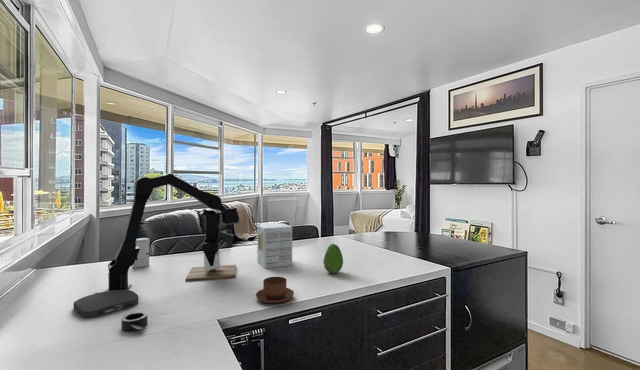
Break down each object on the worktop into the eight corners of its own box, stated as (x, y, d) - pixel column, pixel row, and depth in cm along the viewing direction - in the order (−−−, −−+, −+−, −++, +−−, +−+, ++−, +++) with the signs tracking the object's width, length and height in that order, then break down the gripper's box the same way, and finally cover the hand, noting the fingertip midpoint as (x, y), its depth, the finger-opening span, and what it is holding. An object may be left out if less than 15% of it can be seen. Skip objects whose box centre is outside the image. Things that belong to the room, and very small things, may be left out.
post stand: (235, 277, 122) (235, 265, 122) (185, 281, 118) (185, 268, 118) (235, 267, 138) (235, 255, 137) (192, 269, 133) (192, 258, 133)
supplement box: (256, 261, 147) (256, 224, 147) (283, 258, 152) (283, 222, 152) (264, 268, 135) (263, 228, 135) (293, 265, 140) (292, 226, 140)
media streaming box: (124, 294, 105) (124, 285, 105) (142, 305, 96) (142, 295, 96) (70, 308, 94) (70, 298, 94) (84, 322, 84) (84, 311, 84)
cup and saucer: (287, 308, 93) (287, 287, 93) (249, 305, 96) (249, 284, 95) (298, 294, 105) (298, 275, 105) (264, 291, 107) (264, 273, 107)
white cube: (219, 269, 125) (219, 254, 125) (204, 270, 124) (204, 254, 124) (220, 265, 131) (220, 251, 131) (205, 266, 130) (205, 251, 130)
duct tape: (156, 317, 87) (156, 307, 87) (144, 335, 77) (144, 323, 77) (126, 320, 85) (125, 309, 85) (109, 338, 75) (109, 326, 75)
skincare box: (134, 268, 136) (134, 240, 135) (131, 266, 139) (131, 239, 139) (150, 265, 140) (149, 238, 140) (147, 263, 143) (147, 237, 143)
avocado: (335, 277, 123) (335, 246, 123) (320, 273, 128) (319, 244, 128) (346, 272, 129) (346, 243, 129) (331, 269, 134) (331, 241, 134)
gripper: (232, 228, 120) (232, 268, 120) (233, 222, 138) (233, 257, 139) (201, 229, 118) (201, 270, 118) (206, 223, 136) (207, 258, 136)
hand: (212, 263), depth 128 cm, fingers closed on white cube, 6 cm apart
